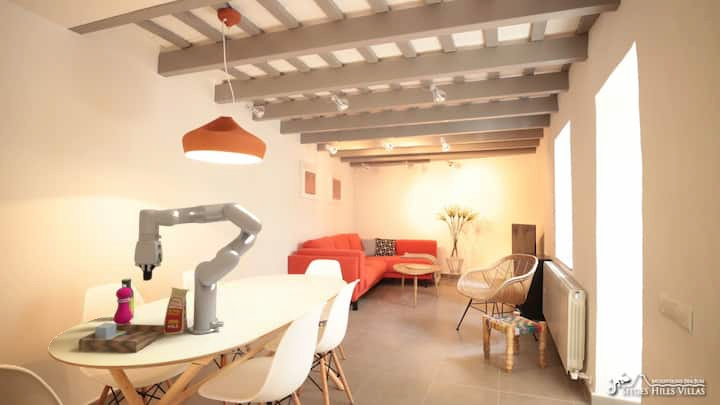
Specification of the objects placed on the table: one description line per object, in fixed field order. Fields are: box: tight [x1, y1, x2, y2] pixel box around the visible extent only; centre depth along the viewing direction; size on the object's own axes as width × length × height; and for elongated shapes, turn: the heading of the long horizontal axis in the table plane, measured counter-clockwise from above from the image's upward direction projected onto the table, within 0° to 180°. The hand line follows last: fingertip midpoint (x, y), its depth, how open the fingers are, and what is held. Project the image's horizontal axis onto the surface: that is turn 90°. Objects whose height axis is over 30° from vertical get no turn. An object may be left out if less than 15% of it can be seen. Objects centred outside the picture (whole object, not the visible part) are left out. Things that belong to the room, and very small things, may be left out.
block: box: [94, 322, 116, 339], centre depth 142 cm, size 5×5×5 cm
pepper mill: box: [113, 284, 133, 324], centre depth 160 cm, size 7×7×20 cm
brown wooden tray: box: [78, 323, 165, 354], centre depth 142 cm, size 23×18×4 cm
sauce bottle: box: [121, 278, 135, 319], centre depth 172 cm, size 7×6×20 cm
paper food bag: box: [163, 286, 189, 336], centre depth 157 cm, size 9×9×20 cm
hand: (147, 279), depth 147 cm, fingers closed
